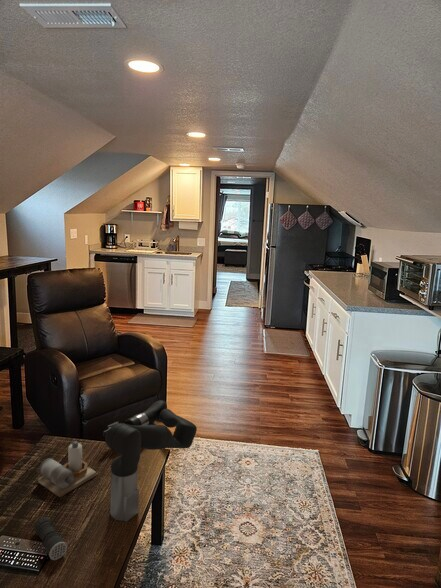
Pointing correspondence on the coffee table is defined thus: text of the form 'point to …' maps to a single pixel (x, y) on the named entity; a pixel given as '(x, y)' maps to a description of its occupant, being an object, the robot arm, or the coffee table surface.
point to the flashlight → (50, 538)
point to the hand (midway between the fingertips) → (110, 437)
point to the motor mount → (63, 476)
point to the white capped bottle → (75, 456)
